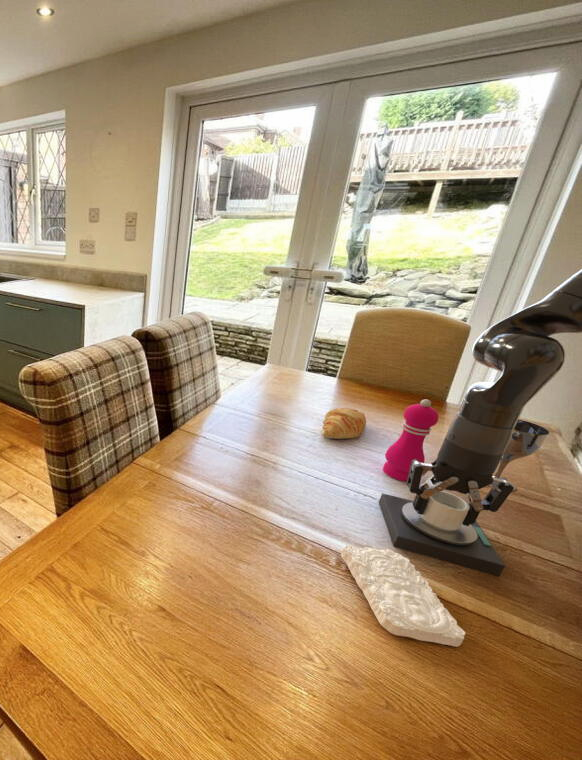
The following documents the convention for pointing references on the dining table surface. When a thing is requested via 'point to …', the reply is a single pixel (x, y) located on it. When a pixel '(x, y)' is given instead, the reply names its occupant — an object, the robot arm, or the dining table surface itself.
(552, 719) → the dining table surface
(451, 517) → the white short hollow cylinder
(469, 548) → the scale
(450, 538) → the scale pan
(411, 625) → the carved plaster tablet
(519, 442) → the wine glass
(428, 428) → the pepper mill
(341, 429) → the croissant
